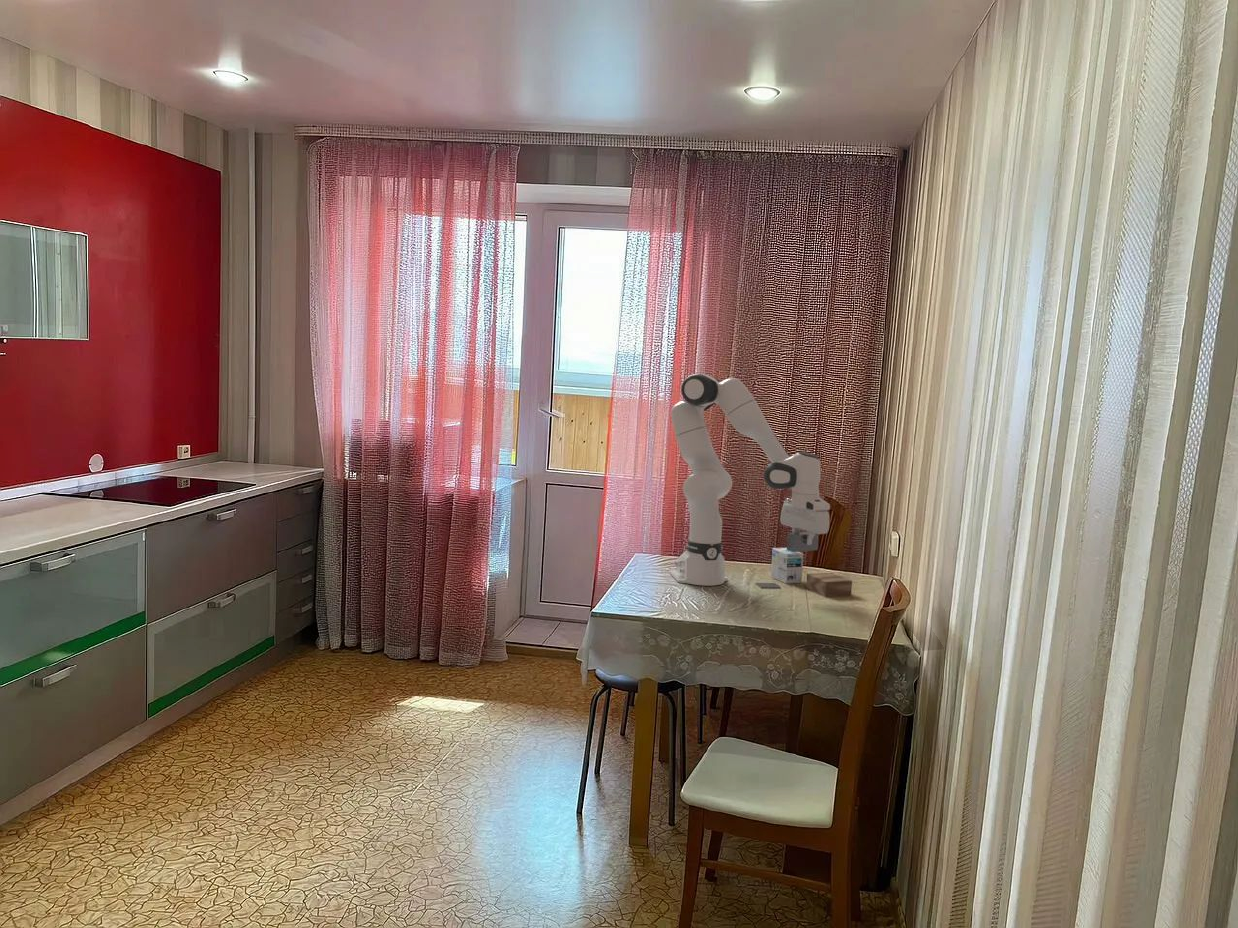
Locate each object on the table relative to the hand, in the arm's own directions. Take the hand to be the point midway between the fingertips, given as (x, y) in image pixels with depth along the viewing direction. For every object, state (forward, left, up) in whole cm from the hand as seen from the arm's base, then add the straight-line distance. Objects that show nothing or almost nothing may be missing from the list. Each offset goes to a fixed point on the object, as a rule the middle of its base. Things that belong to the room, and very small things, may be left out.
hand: (802, 542), depth 308 cm
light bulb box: (-19, +6, -18) cm, 27 cm away
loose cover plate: (-12, -5, -18) cm, 22 cm away
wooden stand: (-1, +12, -17) cm, 21 cm away
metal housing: (0, 0, -2) cm, 2 cm away
